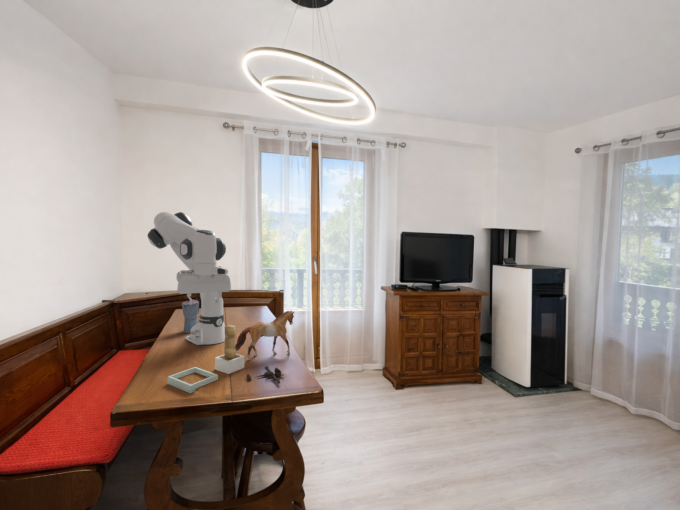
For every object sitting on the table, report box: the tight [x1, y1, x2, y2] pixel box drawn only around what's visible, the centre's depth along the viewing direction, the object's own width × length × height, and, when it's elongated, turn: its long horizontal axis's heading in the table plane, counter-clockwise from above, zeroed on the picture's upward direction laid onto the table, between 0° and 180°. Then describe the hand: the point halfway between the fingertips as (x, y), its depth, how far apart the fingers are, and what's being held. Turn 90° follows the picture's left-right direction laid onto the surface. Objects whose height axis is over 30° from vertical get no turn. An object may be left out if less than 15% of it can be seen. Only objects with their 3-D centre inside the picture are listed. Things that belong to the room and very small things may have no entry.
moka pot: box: [181, 297, 201, 334], centre depth 199 cm, size 10×15×20 cm, turn 172°
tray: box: [167, 366, 219, 394], centre depth 130 cm, size 14×12×3 cm
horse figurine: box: [235, 310, 295, 361], centre depth 160 cm, size 31×8×21 cm, turn 123°
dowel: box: [223, 324, 237, 361], centre depth 142 cm, size 4×4×18 cm
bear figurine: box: [246, 365, 286, 385], centre depth 136 cm, size 18×4×14 cm
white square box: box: [214, 352, 245, 375], centre depth 142 cm, size 8×8×6 cm
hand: (204, 303), depth 137 cm, fingers open, 8 cm apart
